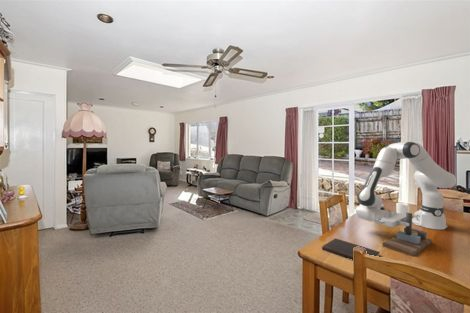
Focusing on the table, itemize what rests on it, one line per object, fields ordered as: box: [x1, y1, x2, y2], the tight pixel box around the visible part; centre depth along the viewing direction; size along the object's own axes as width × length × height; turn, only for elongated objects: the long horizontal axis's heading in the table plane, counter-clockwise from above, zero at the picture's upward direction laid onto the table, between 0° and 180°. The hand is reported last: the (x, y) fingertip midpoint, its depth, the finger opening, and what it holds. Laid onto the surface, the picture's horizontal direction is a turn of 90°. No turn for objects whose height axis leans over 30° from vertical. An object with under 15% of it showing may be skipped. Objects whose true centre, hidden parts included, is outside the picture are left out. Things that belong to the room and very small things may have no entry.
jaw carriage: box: [396, 212, 421, 244], centre depth 130 cm, size 4×10×16 cm, turn 35°
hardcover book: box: [321, 238, 381, 261], centre depth 121 cm, size 16×23×2 cm
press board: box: [382, 227, 432, 257], centre depth 130 cm, size 28×14×6 cm, turn 125°
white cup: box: [395, 201, 409, 215], centre depth 183 cm, size 8×8×10 cm
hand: (410, 223), depth 129 cm, fingers closed on jaw carriage, 3 cm apart
